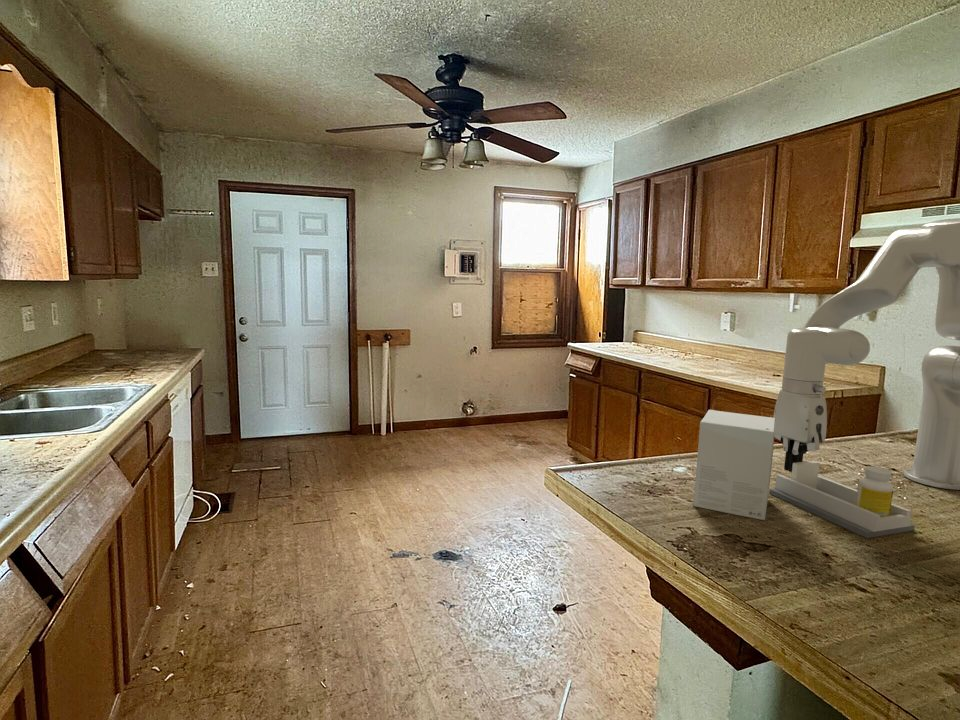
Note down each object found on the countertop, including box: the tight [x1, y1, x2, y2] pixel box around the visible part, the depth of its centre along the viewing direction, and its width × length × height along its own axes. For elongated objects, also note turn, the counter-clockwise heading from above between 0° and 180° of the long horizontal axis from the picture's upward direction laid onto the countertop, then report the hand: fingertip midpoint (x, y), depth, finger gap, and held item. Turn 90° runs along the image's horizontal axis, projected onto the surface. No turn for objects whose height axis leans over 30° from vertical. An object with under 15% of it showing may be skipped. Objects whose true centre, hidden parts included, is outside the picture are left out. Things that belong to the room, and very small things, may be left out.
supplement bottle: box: [855, 465, 894, 517], centre depth 108 cm, size 5×5×10 cm
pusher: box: [790, 460, 820, 489], centre depth 122 cm, size 6×1×6 cm, turn 109°
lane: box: [768, 474, 916, 539], centre depth 115 cm, size 12×22×4 cm, turn 19°
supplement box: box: [692, 409, 775, 521], centre depth 116 cm, size 13×13×18 cm
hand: (792, 470), depth 125 cm, fingers closed
